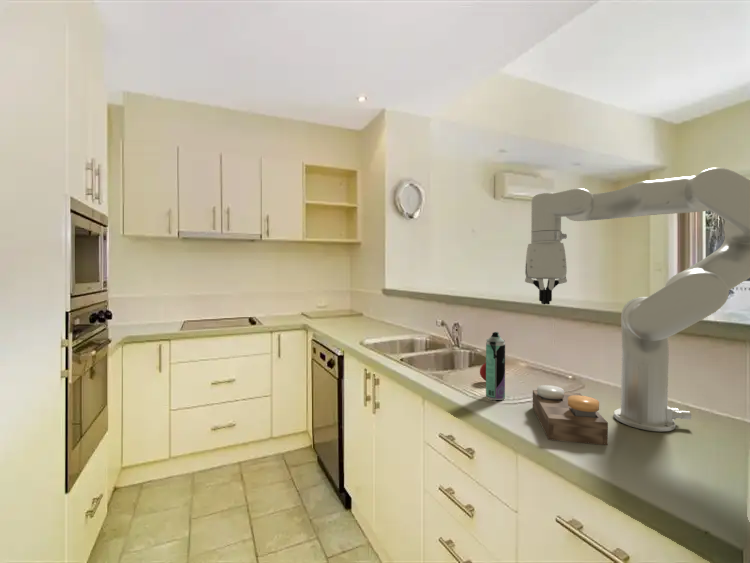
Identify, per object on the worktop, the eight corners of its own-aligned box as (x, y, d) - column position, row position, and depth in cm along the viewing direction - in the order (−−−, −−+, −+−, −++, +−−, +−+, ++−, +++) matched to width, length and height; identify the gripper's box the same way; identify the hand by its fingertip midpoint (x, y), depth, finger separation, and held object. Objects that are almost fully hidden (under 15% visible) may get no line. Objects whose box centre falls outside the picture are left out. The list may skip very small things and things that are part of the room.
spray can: (506, 401, 108) (506, 333, 107) (486, 400, 109) (487, 333, 108) (503, 395, 113) (503, 330, 113) (485, 394, 114) (485, 330, 114)
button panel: (579, 411, 100) (579, 393, 100) (607, 445, 81) (607, 422, 81) (532, 407, 103) (532, 390, 103) (548, 439, 84) (548, 418, 83)
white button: (560, 410, 100) (560, 385, 100) (566, 419, 94) (566, 393, 93) (535, 408, 101) (535, 384, 101) (539, 417, 95) (539, 391, 95)
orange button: (593, 423, 89) (593, 396, 89) (603, 435, 83) (603, 405, 82) (564, 421, 90) (564, 394, 90) (571, 432, 84) (572, 403, 84)
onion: (497, 381, 128) (497, 358, 128) (497, 386, 122) (497, 362, 122) (479, 379, 130) (479, 357, 129) (479, 384, 124) (479, 361, 124)
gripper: (571, 238, 105) (570, 303, 105) (515, 240, 108) (515, 302, 109) (579, 236, 97) (578, 305, 98) (519, 238, 101) (519, 304, 101)
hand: (545, 303), depth 103 cm, fingers closed
